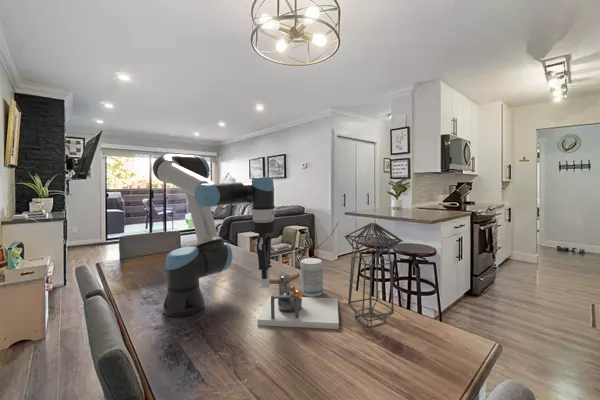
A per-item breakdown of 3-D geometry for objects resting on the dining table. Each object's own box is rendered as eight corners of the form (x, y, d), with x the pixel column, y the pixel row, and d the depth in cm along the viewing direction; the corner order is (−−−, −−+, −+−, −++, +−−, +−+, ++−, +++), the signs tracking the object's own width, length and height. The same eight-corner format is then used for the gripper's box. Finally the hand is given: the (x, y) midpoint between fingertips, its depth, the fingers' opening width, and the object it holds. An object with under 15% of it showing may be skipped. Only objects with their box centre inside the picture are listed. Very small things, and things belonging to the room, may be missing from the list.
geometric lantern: (340, 314, 106) (341, 221, 104) (374, 307, 112) (376, 219, 110) (366, 335, 91) (368, 227, 89) (404, 326, 97) (406, 224, 96)
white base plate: (257, 325, 98) (256, 295, 98) (269, 300, 118) (269, 275, 118) (338, 329, 95) (338, 298, 95) (337, 303, 115) (337, 277, 114)
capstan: (255, 315, 100) (255, 283, 100) (266, 297, 116) (265, 269, 115) (300, 317, 99) (300, 284, 98) (304, 298, 114) (304, 270, 114)
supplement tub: (327, 294, 124) (327, 261, 123) (309, 299, 119) (309, 265, 118) (313, 287, 132) (313, 256, 131) (296, 292, 127) (296, 259, 126)
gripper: (270, 223, 93) (272, 294, 94) (277, 218, 106) (279, 280, 107) (248, 223, 93) (250, 293, 95) (258, 218, 106) (259, 280, 108)
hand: (265, 286), depth 101 cm, fingers closed
